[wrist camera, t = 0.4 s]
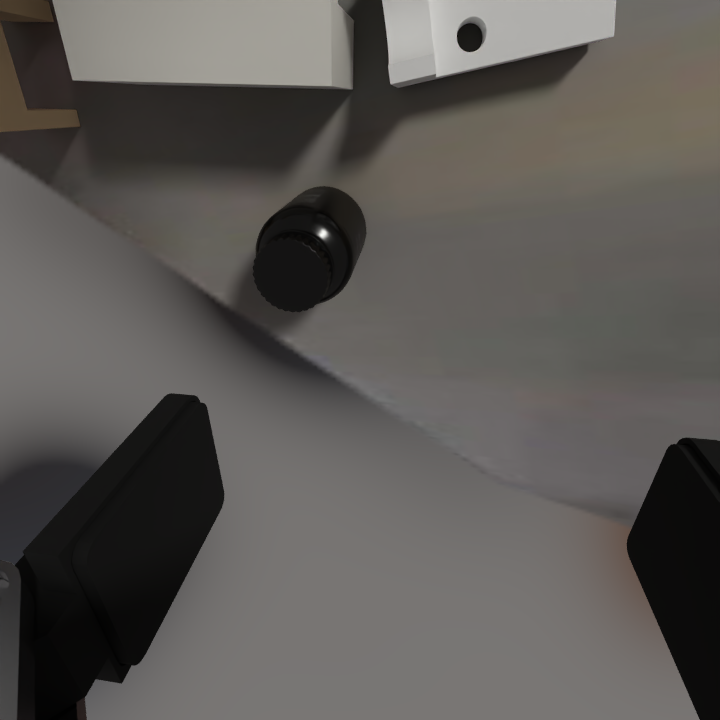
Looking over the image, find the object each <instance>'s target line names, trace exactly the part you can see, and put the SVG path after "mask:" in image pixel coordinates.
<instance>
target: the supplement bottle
mask: <svg viewBox="0 0 720 720" xmlns="http://www.w3.org/2000/svg"><path fill="white" fill-rule="evenodd" d="M365 238H366V223H365V219H364V215H363V213H362V211H361V209H360V207H359V206H358V204H357V203H356V202H355V201H354V200H353V199H352V198H351V197H350V196H349V195H348V194H346V193H345V192H343V191H341V190H339V189H336V188H333V187H326V186H320V187H314V188H311V189H308V190H306V191H304V192H302V193H301V194H300V195H298V196H297V197H295V198H294V199H293V200H292V201H290V202H289V203H288V204H287V205H285V206H284V207H283V208H281V209H280V210H279V211H278V212H276V213H275V214H274V215H273V216H271V217H270V218H269V219H268V221H267V222H266V223H265V224H264V226H263V227H262V229H261V231H260V233H259V236H258V239H257V243H256V259H255V260H254V266H253V270H254V273H253V276H254V278H255V280H254V282H255V283H256V285H257V289H258V290H259V291H260V292H261V295H262V296H263V297H265V299H266V301H268V302H270V303H271V304H272V305H273V306H276V307H277V308H278V309H283V310H285V311H291V312H295V311H297V312H301V311H302V310H304V311H306V310H308V309H309V308H313V307H314V306H315V305H316V304H319V303H322V302H325V301H328V300H330V299H332V298H333V297H335V296H336V295H337V294H339V293H340V292H341V291H342V290H343V288H344V287H345V286H346V284H347V283H348V281H349V279H350V277H351V275H352V272H353V270H354V268H355V265H356V263H357V260H358V258H359V256H360V253H361V251H362V248H363V245H364V242H365Z"/></svg>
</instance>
